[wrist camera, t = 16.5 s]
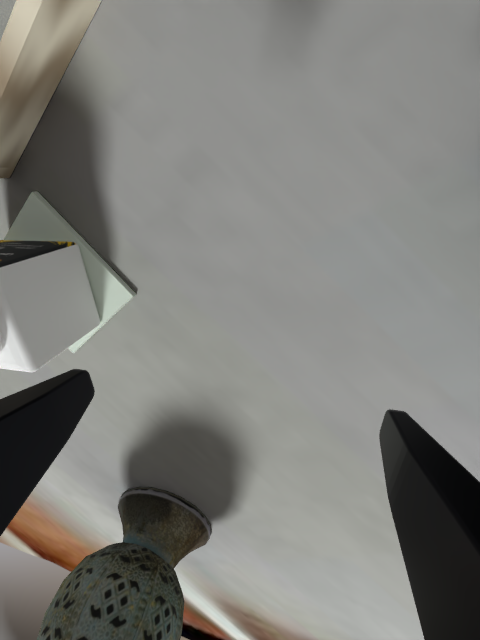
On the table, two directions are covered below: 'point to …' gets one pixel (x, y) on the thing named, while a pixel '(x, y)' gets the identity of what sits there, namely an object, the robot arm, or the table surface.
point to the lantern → (131, 575)
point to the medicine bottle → (42, 302)
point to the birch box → (35, 66)
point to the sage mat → (105, 283)
